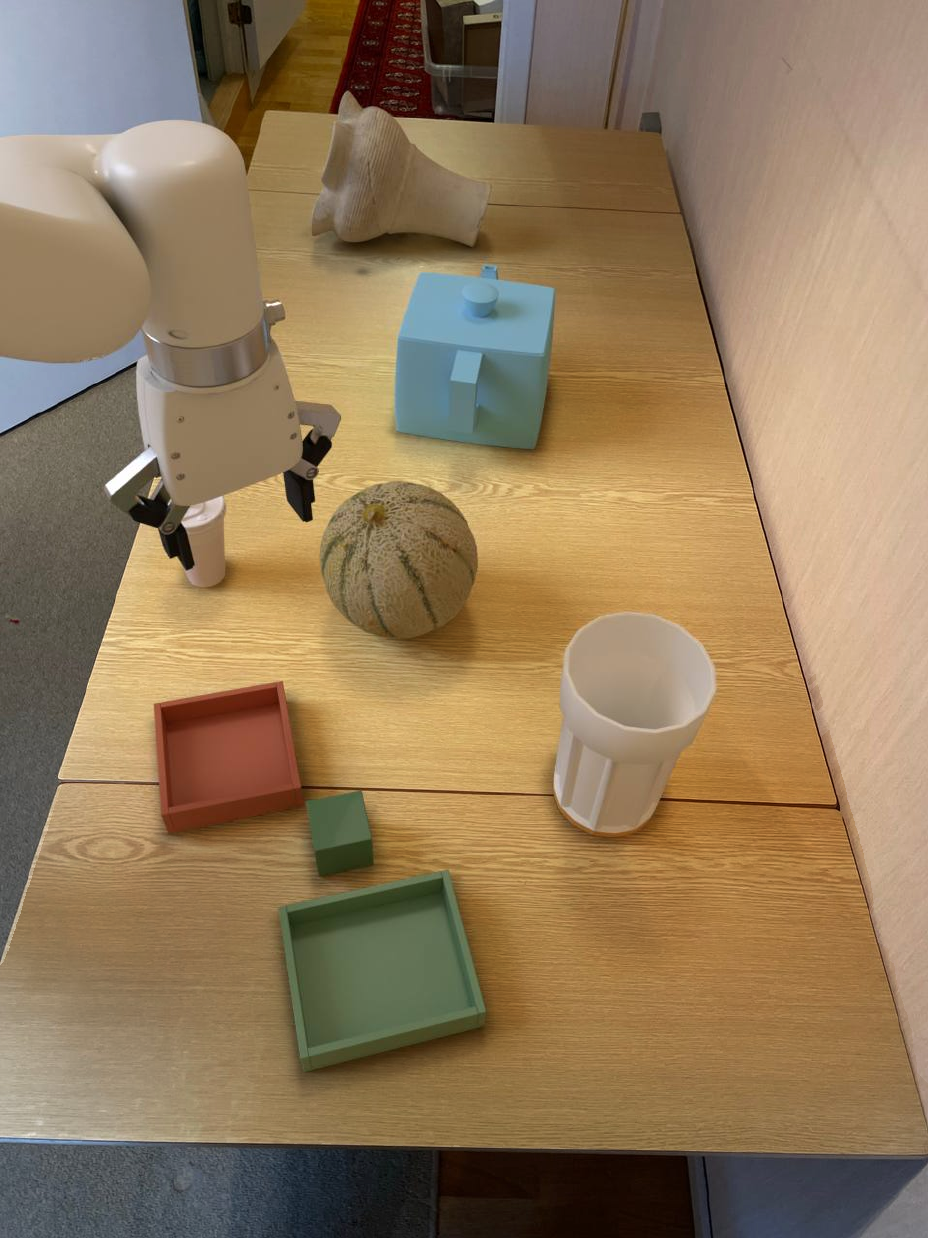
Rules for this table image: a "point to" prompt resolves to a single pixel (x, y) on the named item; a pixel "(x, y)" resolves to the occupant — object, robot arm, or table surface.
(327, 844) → the green block
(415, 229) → the vase
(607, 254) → the table surface
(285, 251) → the table surface
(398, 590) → the cantaloupe
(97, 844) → the table surface
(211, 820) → the terracotta tray
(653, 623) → the cup
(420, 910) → the green tray
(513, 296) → the container
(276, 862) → the table surface
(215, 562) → the smoothie
